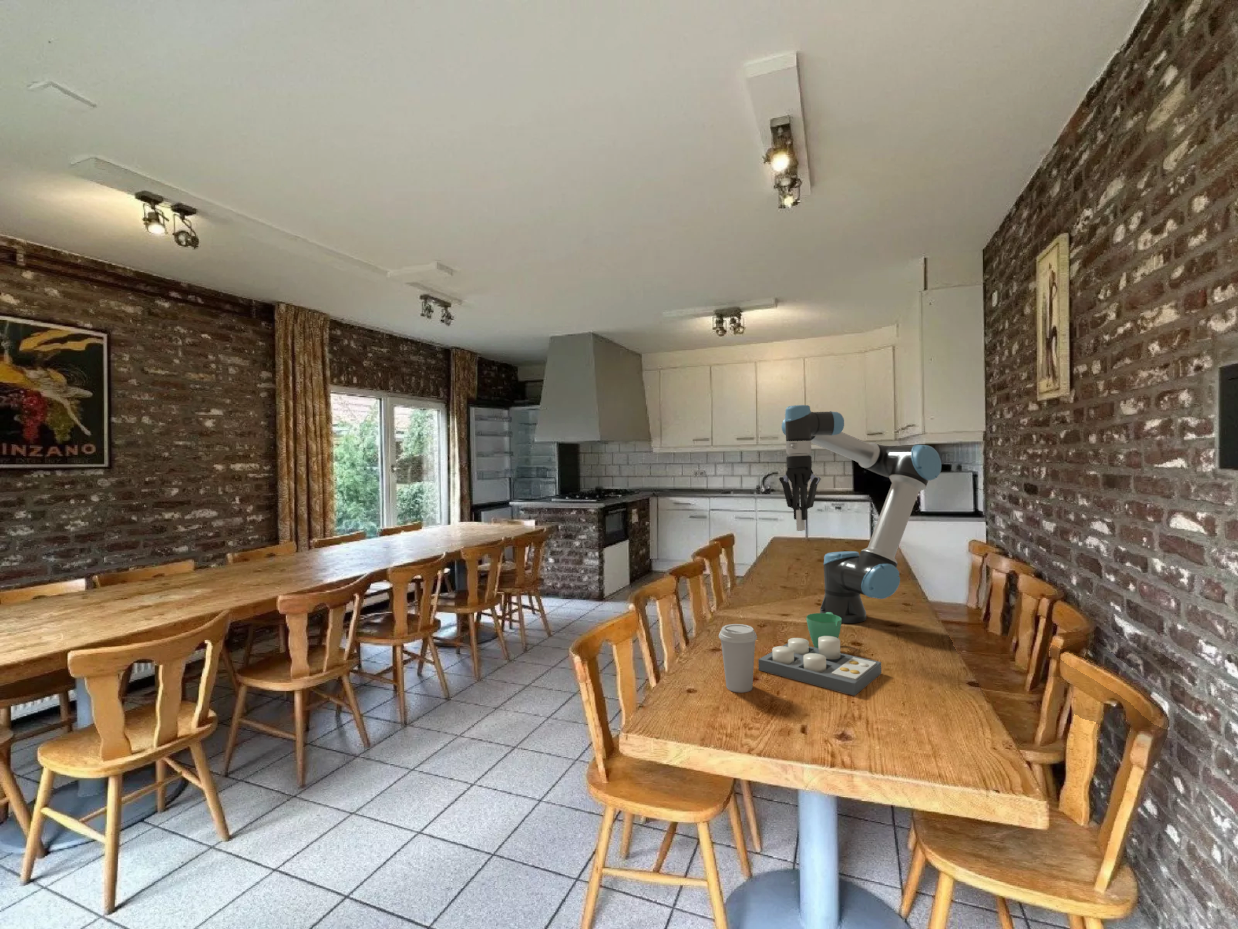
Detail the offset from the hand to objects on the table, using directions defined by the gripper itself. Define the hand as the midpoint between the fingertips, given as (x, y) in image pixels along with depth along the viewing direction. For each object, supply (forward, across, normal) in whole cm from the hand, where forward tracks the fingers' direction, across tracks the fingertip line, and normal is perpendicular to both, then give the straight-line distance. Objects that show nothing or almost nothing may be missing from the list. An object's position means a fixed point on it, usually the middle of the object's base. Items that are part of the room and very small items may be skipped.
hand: (800, 530), depth 179 cm
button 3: (+33, +16, -26) cm, 46 cm away
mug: (+35, +9, -4) cm, 36 cm away
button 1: (+33, +7, -27) cm, 43 cm away
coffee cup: (+35, +4, -44) cm, 56 cm away
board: (+34, +15, -22) cm, 44 cm away
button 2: (+33, +7, -18) cm, 38 cm away
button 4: (+31, +16, -17) cm, 39 cm away
